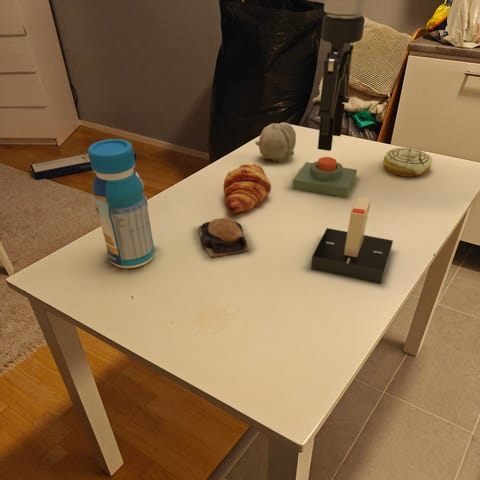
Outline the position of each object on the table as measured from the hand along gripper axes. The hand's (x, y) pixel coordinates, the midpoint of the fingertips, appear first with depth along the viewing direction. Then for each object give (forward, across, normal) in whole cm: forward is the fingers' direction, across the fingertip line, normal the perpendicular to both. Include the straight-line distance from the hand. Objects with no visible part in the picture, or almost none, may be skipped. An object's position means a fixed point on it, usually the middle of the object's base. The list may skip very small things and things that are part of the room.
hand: (329, 141), depth 98 cm
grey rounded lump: (+10, -9, -15) cm, 20 cm away
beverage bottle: (+10, +41, -25) cm, 49 cm away
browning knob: (+7, +28, +12) cm, 31 cm away
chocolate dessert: (+10, +30, -12) cm, 34 cm away
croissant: (+10, +12, -14) cm, 21 cm away
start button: (+6, 0, 0) cm, 6 cm away
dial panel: (+9, +28, +12) cm, 32 cm away
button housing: (+9, 0, 0) cm, 9 cm away
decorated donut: (+10, -14, +16) cm, 23 cm away
